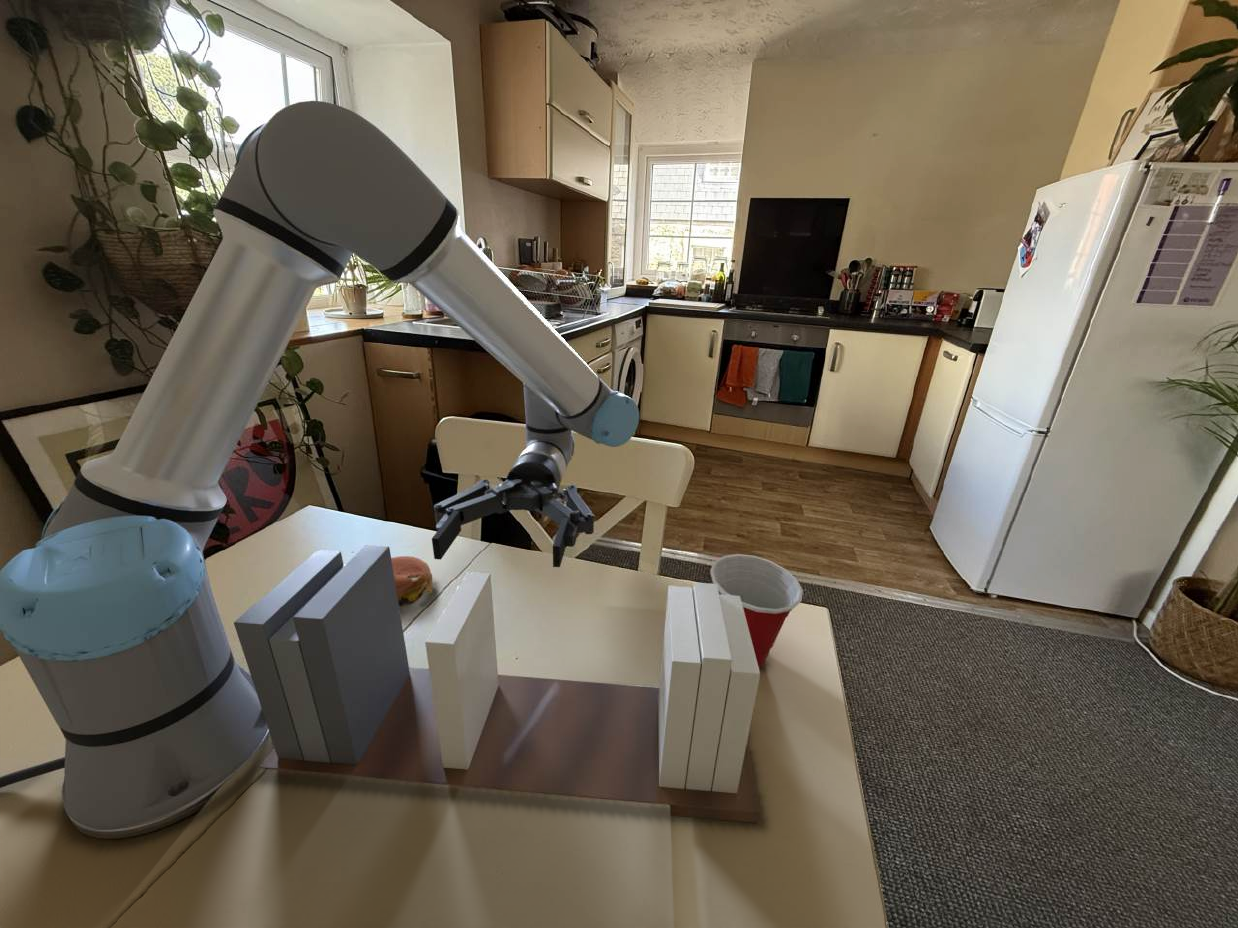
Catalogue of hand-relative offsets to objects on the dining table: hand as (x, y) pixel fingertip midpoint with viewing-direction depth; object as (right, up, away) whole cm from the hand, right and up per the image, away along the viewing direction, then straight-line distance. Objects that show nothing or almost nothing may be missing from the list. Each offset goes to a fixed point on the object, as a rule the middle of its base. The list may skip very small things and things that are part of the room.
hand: (495, 553), depth 55 cm
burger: (-18, -9, +16) cm, 26 cm away
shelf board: (+4, -18, -4) cm, 19 cm away
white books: (+21, -18, -5) cm, 28 cm away
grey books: (-14, -16, -4) cm, 22 cm away
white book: (-1, -17, -4) cm, 17 cm away
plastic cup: (+30, -15, +8) cm, 34 cm away
